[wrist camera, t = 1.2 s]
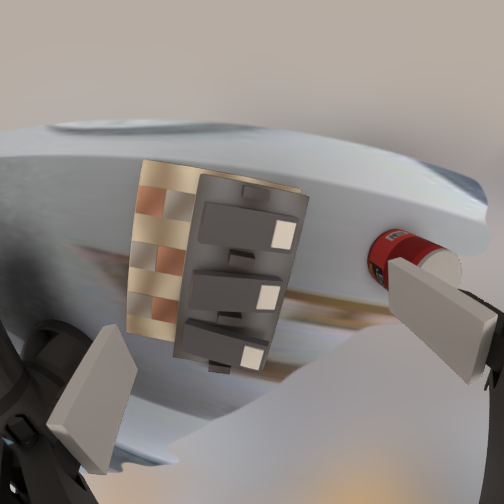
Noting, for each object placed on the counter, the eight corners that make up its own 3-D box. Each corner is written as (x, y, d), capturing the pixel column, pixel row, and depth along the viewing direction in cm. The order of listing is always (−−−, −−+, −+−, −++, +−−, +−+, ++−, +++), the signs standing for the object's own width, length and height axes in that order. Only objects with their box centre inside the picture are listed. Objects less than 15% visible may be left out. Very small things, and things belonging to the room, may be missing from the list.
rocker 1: (197, 239, 27) (200, 244, 26) (204, 200, 26) (207, 203, 25) (285, 250, 30) (291, 254, 29) (293, 215, 29) (300, 218, 28)
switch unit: (128, 327, 37) (112, 357, 30) (146, 159, 31) (126, 157, 25) (257, 349, 39) (264, 382, 33) (298, 188, 34) (316, 193, 27)
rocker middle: (187, 303, 28) (189, 310, 27) (192, 269, 28) (194, 275, 26) (270, 307, 32) (275, 313, 30) (278, 277, 31) (284, 282, 30)
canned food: (355, 267, 38) (397, 302, 27) (387, 216, 36) (438, 235, 25) (392, 291, 39) (435, 327, 29) (421, 245, 38) (471, 269, 27)
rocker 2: (184, 345, 32) (180, 351, 31) (188, 318, 31) (183, 324, 30) (261, 367, 31) (259, 374, 30) (269, 341, 30) (267, 347, 29)
